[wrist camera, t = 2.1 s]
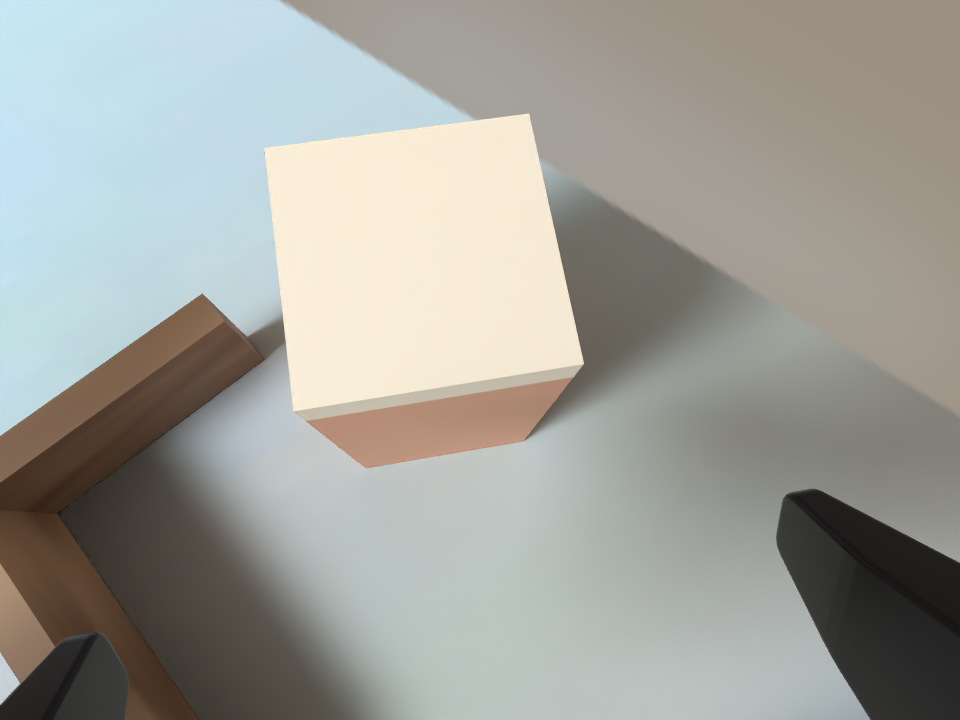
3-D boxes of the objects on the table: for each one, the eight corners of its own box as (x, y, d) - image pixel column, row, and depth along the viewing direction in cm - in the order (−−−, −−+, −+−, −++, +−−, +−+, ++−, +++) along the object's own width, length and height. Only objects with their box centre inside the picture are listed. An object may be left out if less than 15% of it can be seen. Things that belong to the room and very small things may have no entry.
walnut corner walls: (474, 625, 20) (480, 648, 16) (233, 842, 18) (175, 925, 14) (246, 336, 22) (202, 293, 18) (9, 508, 20) (-96, 503, 16)
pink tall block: (523, 441, 21) (584, 364, 12) (365, 468, 21) (293, 411, 11) (495, 294, 23) (529, 113, 13) (345, 317, 22) (264, 147, 12)
